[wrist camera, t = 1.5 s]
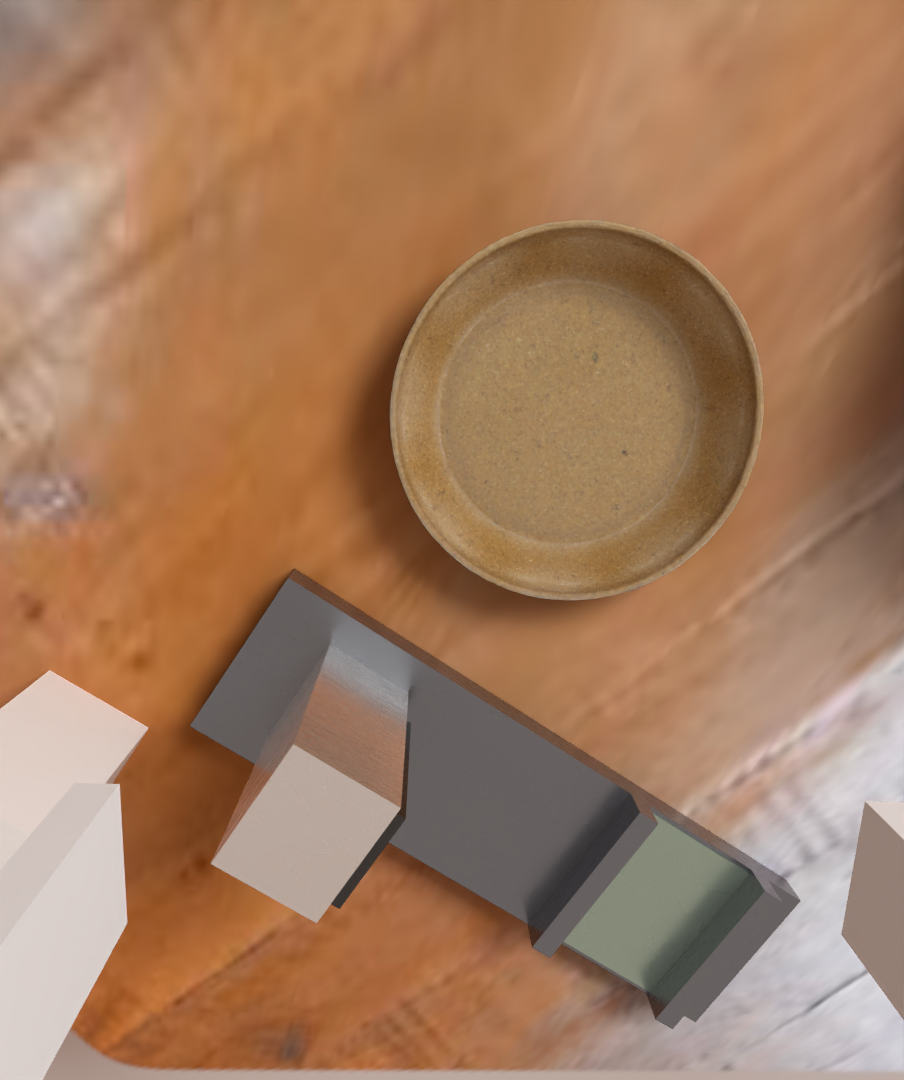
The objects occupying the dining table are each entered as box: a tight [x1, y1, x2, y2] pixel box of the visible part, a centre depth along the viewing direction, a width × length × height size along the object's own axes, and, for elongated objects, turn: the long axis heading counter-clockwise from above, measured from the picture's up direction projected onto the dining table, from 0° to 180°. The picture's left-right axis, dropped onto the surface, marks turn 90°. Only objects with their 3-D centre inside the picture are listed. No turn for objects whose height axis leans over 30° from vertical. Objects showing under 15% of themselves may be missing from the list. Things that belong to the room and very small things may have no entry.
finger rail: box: [190, 569, 800, 1029], centre depth 31 cm, size 28×8×10 cm, turn 56°
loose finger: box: [0, 670, 148, 870], centre depth 31 cm, size 4×5×9 cm
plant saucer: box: [389, 220, 764, 600], centre depth 32 cm, size 15×15×3 cm
